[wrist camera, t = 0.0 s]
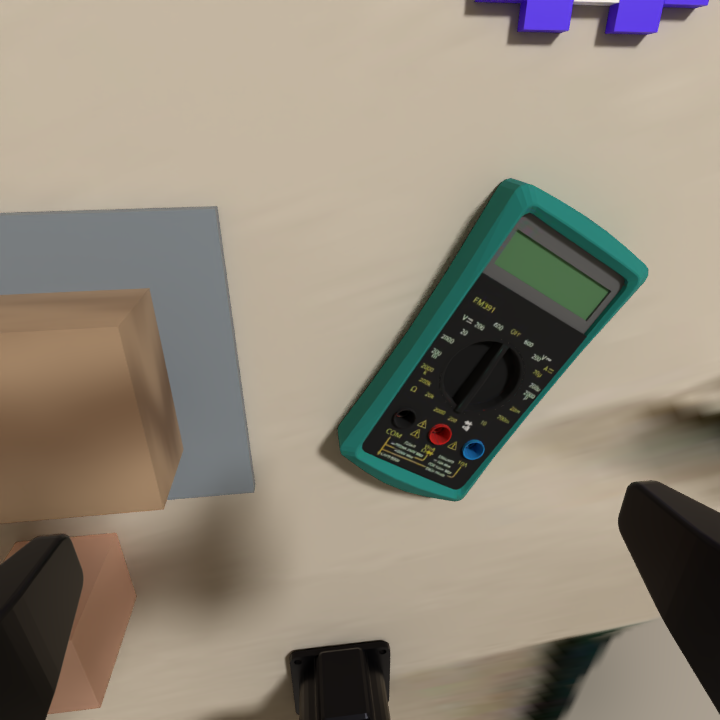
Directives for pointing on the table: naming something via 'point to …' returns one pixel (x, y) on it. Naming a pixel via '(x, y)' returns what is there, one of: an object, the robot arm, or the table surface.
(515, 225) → the digital multimeter
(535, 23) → the building block set
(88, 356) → the walnut base block
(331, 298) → the table surface
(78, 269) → the grey flat square plate
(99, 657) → the terracotta cube
